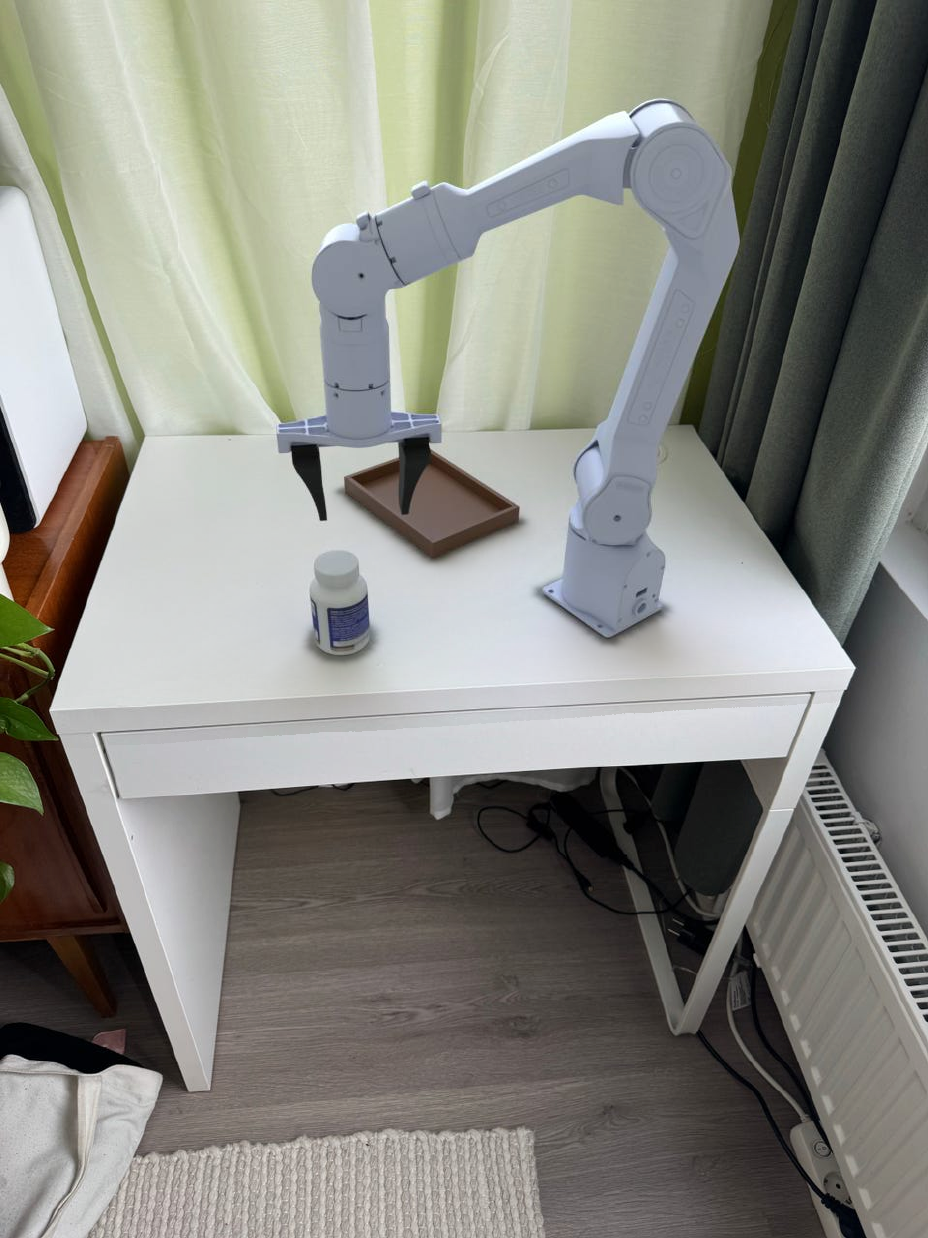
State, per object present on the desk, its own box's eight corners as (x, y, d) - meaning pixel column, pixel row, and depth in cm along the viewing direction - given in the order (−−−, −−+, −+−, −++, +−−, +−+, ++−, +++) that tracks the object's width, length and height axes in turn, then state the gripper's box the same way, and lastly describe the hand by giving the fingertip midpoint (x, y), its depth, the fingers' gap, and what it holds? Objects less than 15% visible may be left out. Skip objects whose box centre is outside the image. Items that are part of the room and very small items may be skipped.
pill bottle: (380, 632, 89) (377, 556, 84) (350, 663, 85) (345, 586, 80) (334, 615, 91) (328, 539, 85) (303, 645, 87) (294, 568, 82)
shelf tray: (518, 521, 105) (519, 506, 104) (432, 558, 99) (433, 543, 98) (427, 461, 115) (427, 446, 114) (344, 491, 109) (343, 476, 108)
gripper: (433, 353, 84) (432, 485, 92) (269, 361, 81) (284, 495, 90) (446, 387, 78) (444, 523, 87) (271, 397, 76) (287, 535, 84)
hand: (363, 512), depth 88 cm, fingers open, 7 cm apart
